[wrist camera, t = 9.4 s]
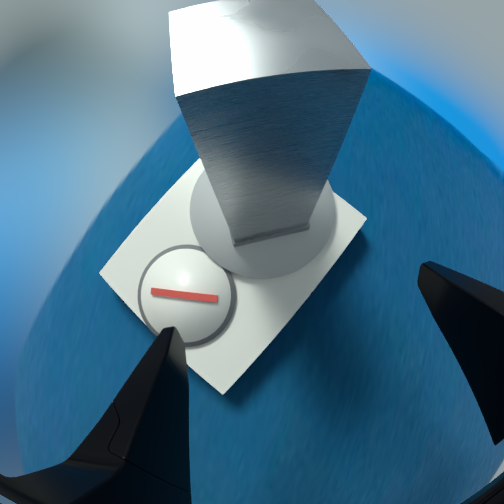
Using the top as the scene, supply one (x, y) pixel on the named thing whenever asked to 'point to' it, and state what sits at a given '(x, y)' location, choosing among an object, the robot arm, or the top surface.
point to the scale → (223, 274)
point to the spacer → (265, 106)
